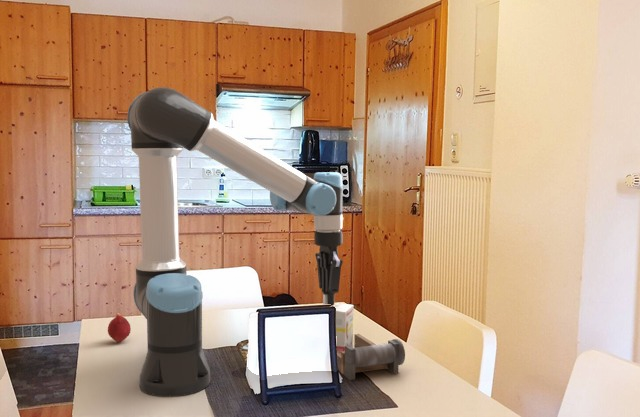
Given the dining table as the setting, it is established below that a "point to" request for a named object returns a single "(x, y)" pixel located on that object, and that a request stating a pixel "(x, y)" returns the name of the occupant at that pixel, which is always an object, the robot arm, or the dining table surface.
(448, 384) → the dining table surface
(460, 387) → the dining table surface
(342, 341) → the ink box
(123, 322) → the onion
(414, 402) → the dining table surface
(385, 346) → the grey roller holder
